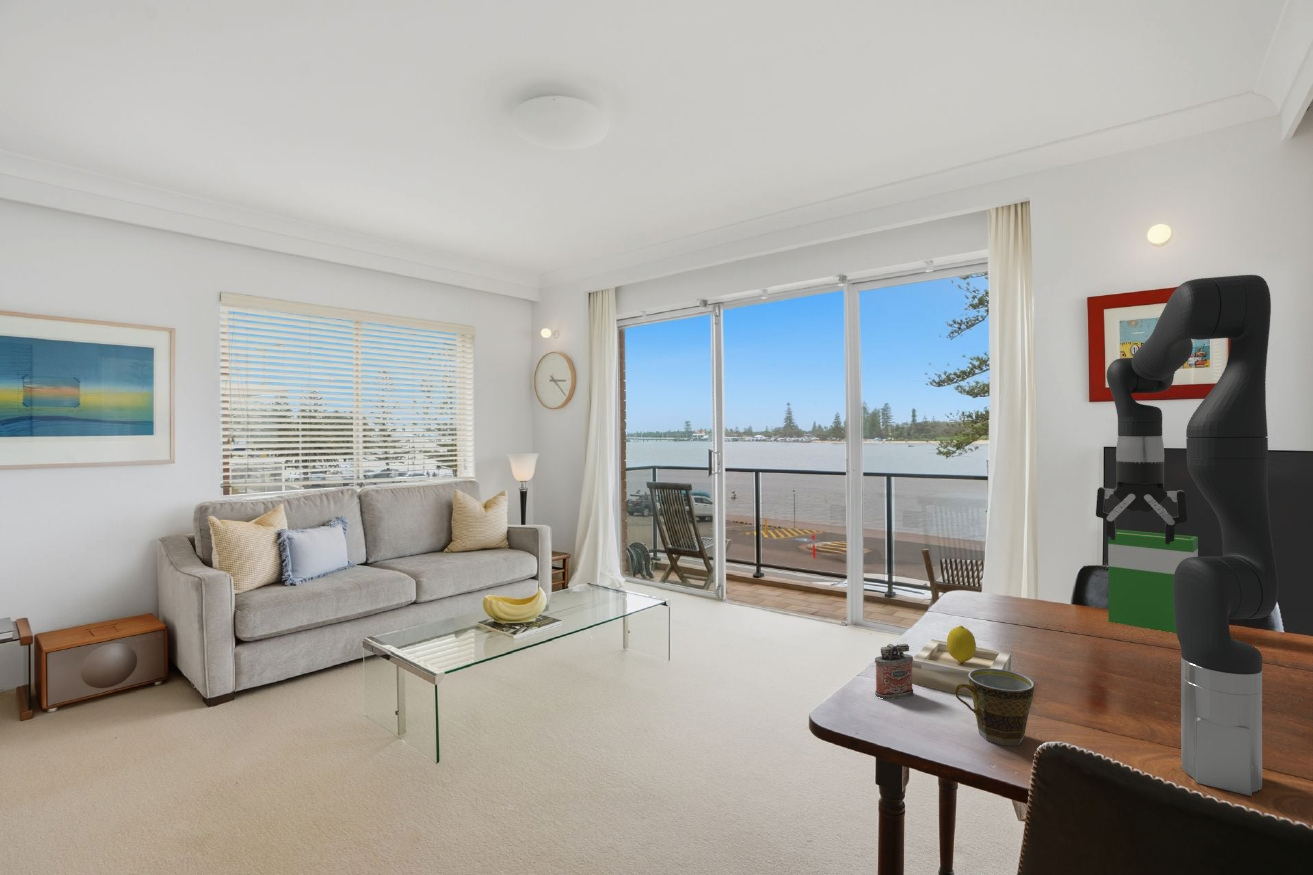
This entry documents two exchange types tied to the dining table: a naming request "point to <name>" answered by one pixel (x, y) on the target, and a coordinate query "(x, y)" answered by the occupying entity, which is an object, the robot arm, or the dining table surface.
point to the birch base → (949, 679)
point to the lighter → (894, 672)
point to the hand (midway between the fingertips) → (1139, 541)
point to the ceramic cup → (999, 704)
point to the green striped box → (1145, 578)
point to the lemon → (961, 644)
